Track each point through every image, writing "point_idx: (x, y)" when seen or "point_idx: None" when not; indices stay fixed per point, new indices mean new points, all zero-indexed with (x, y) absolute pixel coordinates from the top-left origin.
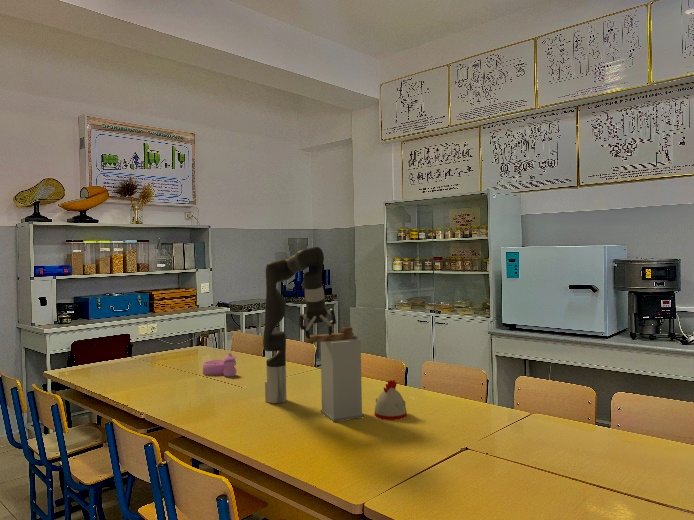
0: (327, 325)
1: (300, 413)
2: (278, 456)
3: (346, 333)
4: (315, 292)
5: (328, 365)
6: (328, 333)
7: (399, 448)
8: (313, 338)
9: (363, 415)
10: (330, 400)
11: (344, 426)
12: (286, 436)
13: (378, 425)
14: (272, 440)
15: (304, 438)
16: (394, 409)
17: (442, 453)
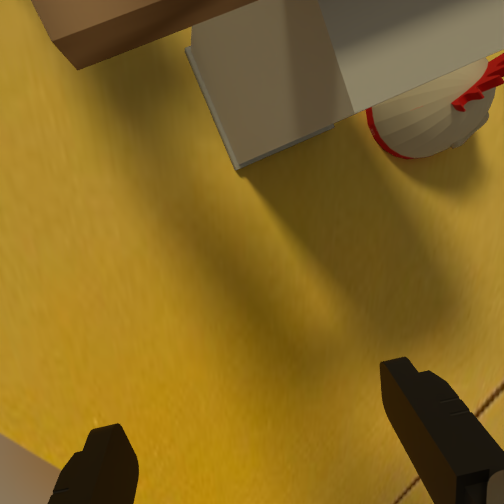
0: (451, 470)
1: None
2: None
3: None
4: None
5: (256, 71)
6: (381, 366)
7: None
8: (139, 22)
9: (333, 127)
10: (235, 129)
11: (270, 213)
12: (99, 299)
13: (366, 208)
14: (61, 333)
15: (157, 315)
16: (437, 151)
17: (469, 398)
